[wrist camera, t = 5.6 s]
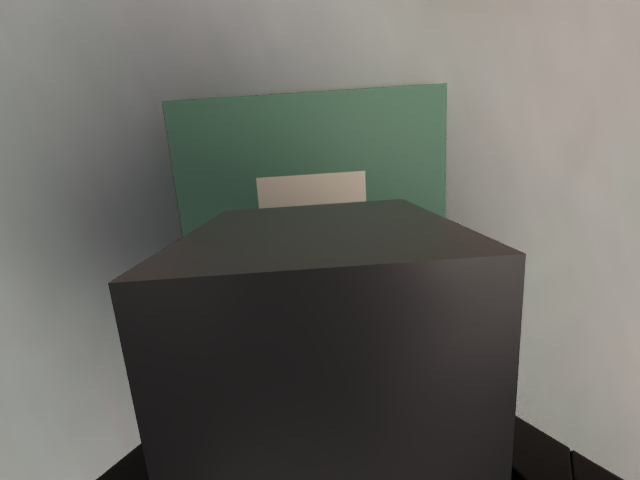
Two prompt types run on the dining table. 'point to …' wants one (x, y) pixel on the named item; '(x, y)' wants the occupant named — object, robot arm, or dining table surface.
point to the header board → (307, 150)
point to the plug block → (325, 347)
